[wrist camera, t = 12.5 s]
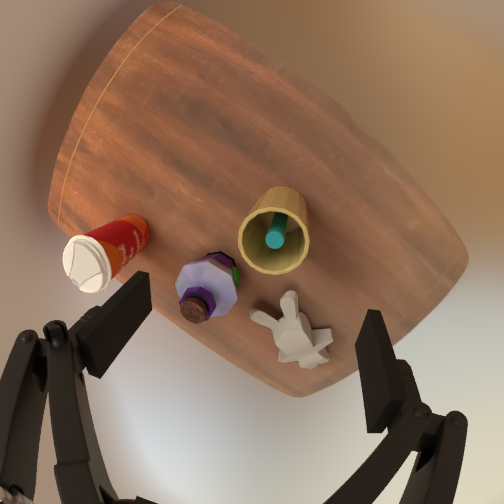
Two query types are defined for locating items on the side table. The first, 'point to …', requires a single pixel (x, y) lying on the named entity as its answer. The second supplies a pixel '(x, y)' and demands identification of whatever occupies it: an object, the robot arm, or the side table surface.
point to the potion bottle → (208, 287)
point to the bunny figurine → (295, 334)
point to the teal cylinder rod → (277, 230)
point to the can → (258, 226)
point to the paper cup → (104, 252)
